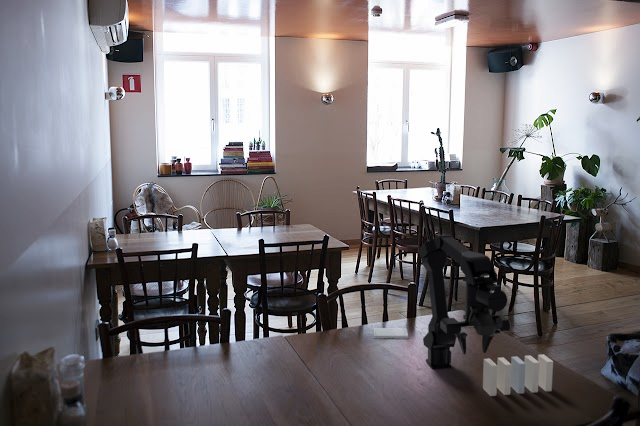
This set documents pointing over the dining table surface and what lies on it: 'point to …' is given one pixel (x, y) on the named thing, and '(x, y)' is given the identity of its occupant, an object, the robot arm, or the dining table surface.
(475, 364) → the dining table surface
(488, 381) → the domino
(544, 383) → the domino
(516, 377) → the domino
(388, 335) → the hard drive
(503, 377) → the domino
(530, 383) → the domino
